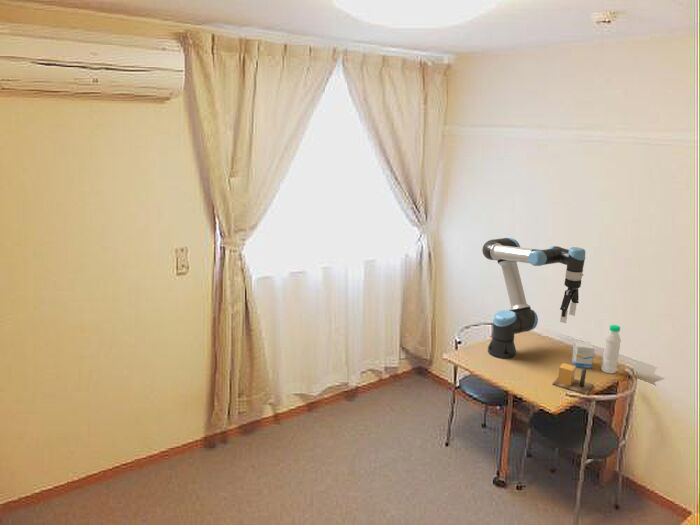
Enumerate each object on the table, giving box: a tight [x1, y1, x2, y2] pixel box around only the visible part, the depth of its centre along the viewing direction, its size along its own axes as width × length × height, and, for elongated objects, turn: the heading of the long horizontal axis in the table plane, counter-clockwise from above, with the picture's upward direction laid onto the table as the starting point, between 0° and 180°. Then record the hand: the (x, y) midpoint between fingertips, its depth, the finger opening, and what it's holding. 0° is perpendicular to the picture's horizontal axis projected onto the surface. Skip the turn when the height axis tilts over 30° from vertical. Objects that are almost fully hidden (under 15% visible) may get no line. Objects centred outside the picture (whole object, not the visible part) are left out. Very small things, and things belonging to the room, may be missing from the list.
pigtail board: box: [552, 368, 594, 395], centre depth 253 cm, size 16×12×10 cm
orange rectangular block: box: [557, 362, 577, 386], centre depth 255 cm, size 6×6×8 cm
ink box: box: [571, 340, 595, 370], centre depth 275 cm, size 9×8×12 cm
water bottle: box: [600, 324, 622, 374], centre depth 267 cm, size 7×7×25 cm
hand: (567, 318), depth 263 cm, fingers open, 13 cm apart
